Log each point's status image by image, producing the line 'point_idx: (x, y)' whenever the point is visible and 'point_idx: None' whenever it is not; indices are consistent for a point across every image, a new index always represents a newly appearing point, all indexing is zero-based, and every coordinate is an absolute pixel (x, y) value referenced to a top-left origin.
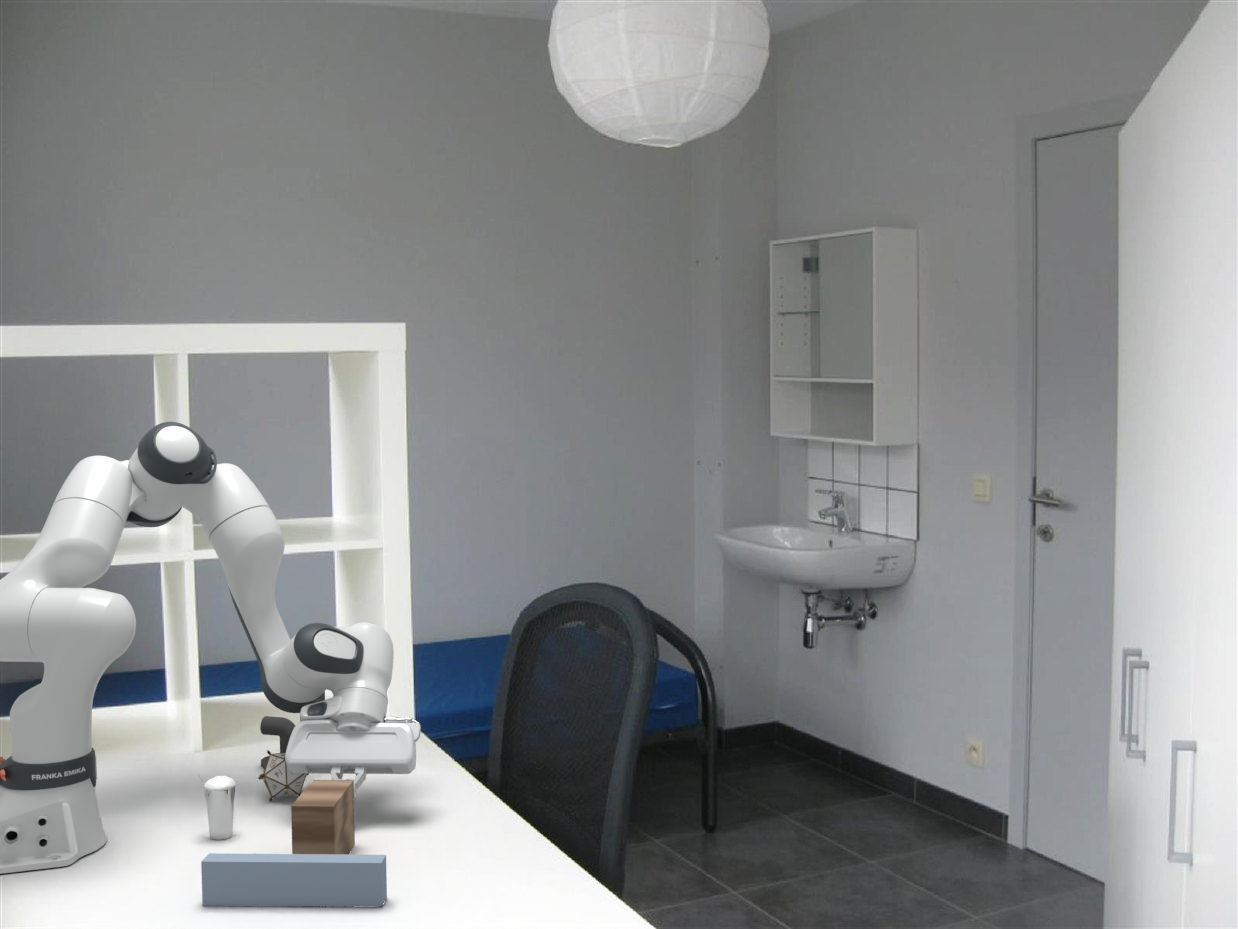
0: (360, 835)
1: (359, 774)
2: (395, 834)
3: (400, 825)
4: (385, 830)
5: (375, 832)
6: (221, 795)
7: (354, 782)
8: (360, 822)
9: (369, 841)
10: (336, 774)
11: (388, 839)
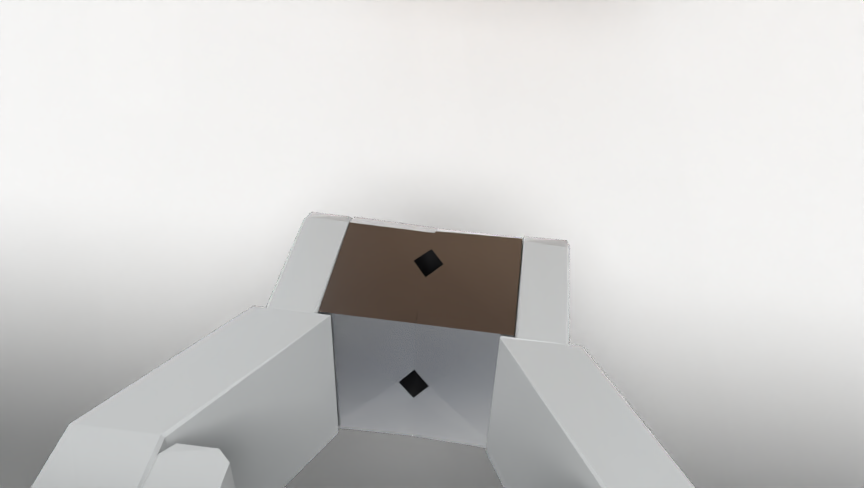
0: (324, 153)
1: (146, 407)
2: (54, 150)
3: (22, 357)
4: (135, 250)
5: (210, 211)
6: None
7: (269, 317)
8: (351, 473)
9: (243, 13)
10: (595, 480)
11: (102, 44)
